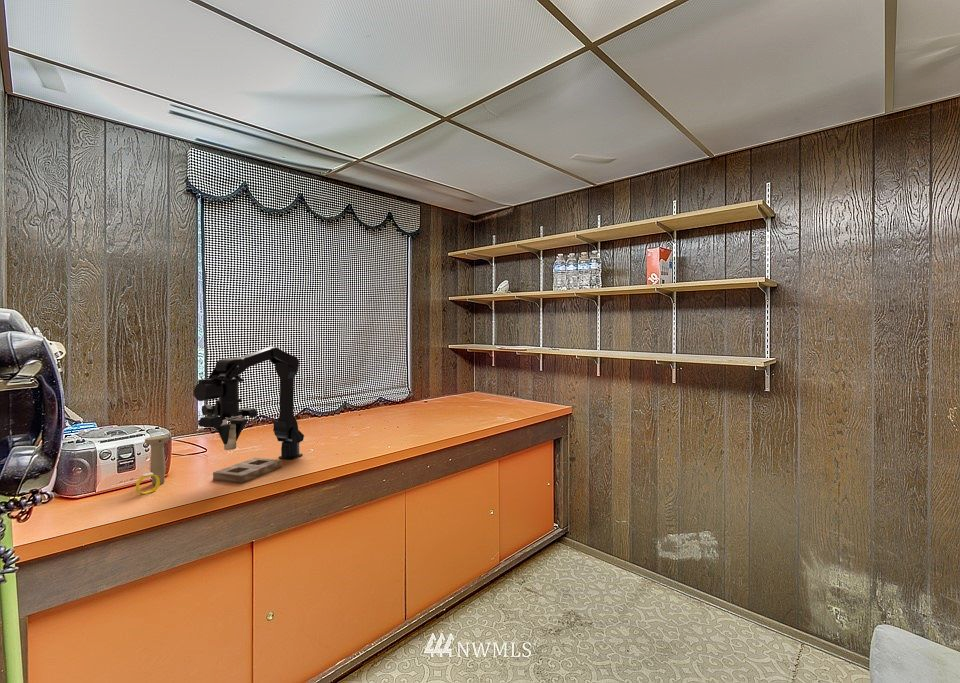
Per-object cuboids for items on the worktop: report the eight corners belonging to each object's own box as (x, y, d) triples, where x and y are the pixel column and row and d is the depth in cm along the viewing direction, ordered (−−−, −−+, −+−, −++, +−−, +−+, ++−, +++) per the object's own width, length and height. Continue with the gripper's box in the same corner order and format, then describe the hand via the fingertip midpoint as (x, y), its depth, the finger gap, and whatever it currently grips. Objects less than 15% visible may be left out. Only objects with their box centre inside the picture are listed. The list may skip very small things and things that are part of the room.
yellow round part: (140, 497, 136) (138, 478, 136) (135, 495, 138) (133, 476, 137) (162, 489, 142) (160, 471, 141) (157, 488, 143) (155, 470, 142)
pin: (230, 446, 156) (230, 423, 156) (239, 447, 155) (238, 424, 155) (221, 449, 153) (220, 425, 152) (229, 450, 151) (229, 426, 151)
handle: (172, 482, 149) (171, 436, 148) (149, 487, 144) (148, 440, 143) (166, 479, 152) (165, 434, 151) (143, 484, 146) (142, 438, 146)
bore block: (254, 464, 168) (254, 457, 168) (281, 467, 165) (281, 460, 165) (213, 479, 151) (212, 472, 151) (242, 483, 148) (241, 475, 147)
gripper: (233, 391, 164) (234, 434, 165) (185, 399, 147) (186, 447, 147) (257, 392, 161) (259, 436, 161) (211, 401, 143) (213, 450, 144)
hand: (230, 442), depth 154 cm, fingers closed on pin, 4 cm apart
